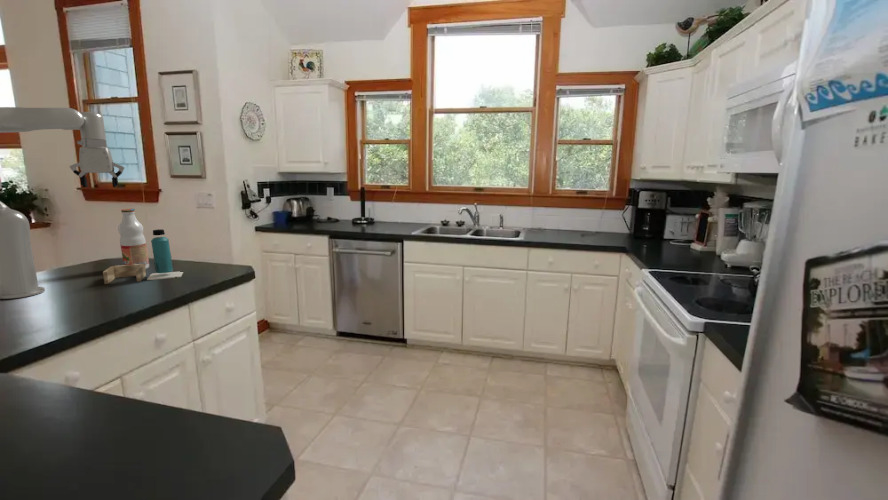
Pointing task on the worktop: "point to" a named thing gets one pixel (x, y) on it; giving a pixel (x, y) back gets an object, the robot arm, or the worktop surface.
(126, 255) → the fruit juice
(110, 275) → the bottle bracket
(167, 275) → the trivet
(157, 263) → the beverage bottle
